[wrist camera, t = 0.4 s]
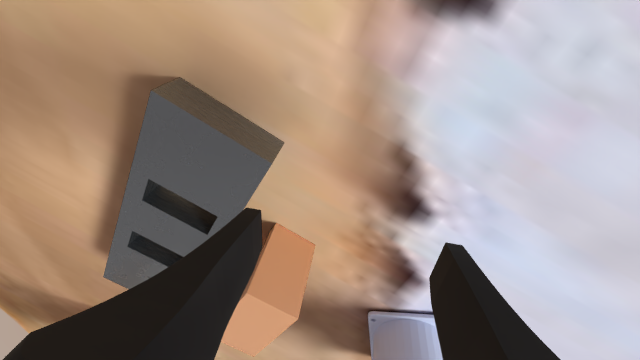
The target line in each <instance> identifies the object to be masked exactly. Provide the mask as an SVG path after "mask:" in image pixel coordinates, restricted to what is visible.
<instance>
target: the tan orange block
mask: <svg viewBox="0 0 640 360" xmlns="http://www.w3.org/2000/svg"><path fill="white" fill-rule="evenodd" d="M314 249H315V245H314V244H313V243H311V242H309V241H307V240H306V239H304V238H302V237H300V236H299V235H297V234H295V233H293V232H291V231H290V230H288V229H286V228H284V227H283V226H281V225H279V224H277V223H276V224H275V225H274V227H273V228H272V229H271V231H270V233H269V235H268V237H267V240H266V242H265V244H264V247H263V249H262V251H261V253H260V256H259V258H258V261H257V264H256V266H255V269H254V271H253V273H252V276H251V278H250V280H249V282H248V284H247V286H246V288H245V290H244V292H243V294H242V296H241V298H240V300H239V302H238V304H237V306H236V308H235V310H234V312H233V314H232V317H231V319H230V321H229V323H228V325H227V327H226V330H225V332H224V335H223V337H222V340H221V342H223V343H225V344H227V345H229V346H231V347H233V348H236V349H238V350H240V351H242V352H244V353H246V354H248V355H251V356H253V357H254V356H255V355H256V354H258V353H259V352H260V351H261V350H262V349H264V348H265V347H266V346H267V345H268V344H269V343H271V342H272V341H273V340H274V339H275V338H277V337H278V336H279V335H280V334H281V333H282V332H284V331H285V330H286V329H287V328H288V327H289V326H291V325H292V324H293V323H294V322H295V321H297V320H298V318H299V313H300V309H301V305H302V300H303V296H304V292H305V288H306V283H307V279H308V275H309V270H310V266H311V262H312V258H313V253H314Z"/></svg>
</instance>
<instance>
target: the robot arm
mask: <svg viewBox="0 0 640 360" xmlns="http://www.w3.org/2000/svg"><path fill="white" fill-rule="evenodd" d="M261 249H262V221H261V210H257V209H251V208H245V209H244V210H243V211H242V212H240V213H239V214H238V215H237V216H236V217H235V218H233V219H232V220H231V221H230V222H229V223H227V224H226V225H225V226H224V227H223V228H221V229H220V230H219V231H218V232H216V233H215V234H214V235H213V236H211V237H210V238H209V239H208V240H206V241H205V242H204V243H202V244H201V245H200V246H198V247H197V248H195V249H194V250H193V251H191V252H190V253H189V254H187V255H186V256H184V257H183V258H181V259H180V260H178V261H177V262H175V263H174V264H172V265H171V266H169V267H168V268H166V269H164V270H163V271H161V272H160V273H158V274H156V275H155V276H153V277H151V278H149V279H147V280H146V281H144V282H142V283H140V284H138V285H136V286H135V287H133V288H131V289H129V290H127V291H125V292H123V293H121V294H119V295H117V296H115V297H113V298H111V299H109V300H107V301H105V302H103V303H101V304H98V305H96V306H94V307H92V308H90V309H87V310H85V311H83V312H80V313H78V314H76V315H73V316H71V317H68V318H66V319H63V320H61V321H58V322H56V323H54V324H51V325H49V326H46V327H44V328H41V329H38V330H36V331H33V332H31V333H30V334H29V335H27V336H26V337H25V338H24V339H23V340H22V341H21V342H20V343H19V344H18V345H17V346H16V347H15V348H14V349H13V350H12V351H11V352H10V353H9V354H8V355H7V356H6V357H5V358H4V359H3V360H214V358H215V356H216V353H217V350H218V348H219V345H220V342H221V340H222V337H223V335H224V332H225V330H226V327H227V325H228V323H229V321H230V319H231V317H232V314H233V312H234V310H235V308H236V306H237V304H238V302H239V300H240V298H241V296H242V294H243V292H244V290H245V288H246V286H247V284H248V282H249V280H250V278H251V276H252V273H253V271H254V269H255V266H256V264H257V261H258V258H259V255H260V252H261ZM430 293H431V304H432V309H433V314H434V315H429V314H412V313H395V312H378V311H370V312H369V313H368V323H369V335H370V346H371V358H372V360H560V359H559V358H558V357H557V356H556V355H555V354H554V353H553V352H552V351H551V350H550V349H549V348H548V347H547V346H546V345H545V344H544V343H543V342H542V341H541V340H540V339H539V338H538V337H537V335H536V334H535V333H534V332H533V331H532V330H531V329H530V328H529V327H528V326H527V325H526V324H525V322H524V321H523V320H522V319H521V318H520V317H519V316H518V315H517V313H516V312H515V311H514V310H513V309H512V308H511V306H510V305H509V304H508V303H507V302H506V301H505V299H504V298H503V297H502V296H501V295H500V293H499V292H498V291H497V290H496V288H495V287H494V286H493V285H492V283H491V282H490V281H489V280H488V278H487V277H486V276H485V274H484V273H483V272H482V270H481V269H480V268H479V267H478V265H477V264H476V263H475V261H474V260H473V259H472V257H471V256H470V255H469V253H468V252H467V251H466V250H465V248H464V247H463V246H462V245H456V244H451V243H445V245H444V247H443V249H442V252H441V254H440V256H439V258H438V260H437V262H436V265H435V267H434V269H433V271H432V273H431V275H430Z"/></svg>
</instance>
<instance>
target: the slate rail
mask: <svg viewBox="0 0 640 360" xmlns="http://www.w3.org/2000/svg"><path fill="white" fill-rule="evenodd" d="M283 144H284V142H283V141H281V140H279V139H278V138H276V137H275V136H273V135H271V134H270V133H268V132H267V131H265V130H263V129H262V128H260V127H259V126H257V125H255V124H254V123H252V122H251V121H249V120H247V119H246V118H244V117H243V116H241V115H239V114H238V113H236V112H235V111H233V110H231V109H230V108H228V107H227V106H225V105H223V104H222V103H220V102H219V101H217V100H215V99H214V98H212V97H211V96H209V95H207V94H206V93H204V92H203V91H201V90H199V89H198V88H196V87H195V86H193V85H191V84H190V83H188V82H187V81H185V80H183V79H182V78H177V79H175V80H173V81H171V82H169V83H166V84H164V85H162V86H160V87H157V88H155V89H153V90H151V92H150V96H149V100H148V104H147V108H146V112H145V116H144V120H143V124H142V128H141V132H140V135H139V139H138V143H137V147H136V151H135V155H134V159H133V163H132V167H131V171H130V174H129V178H128V182H127V186H126V190H125V194H124V198H123V202H122V206H121V210H120V214H119V217H118V221H117V225H116V229H115V233H114V237H113V241H112V245H111V249H110V253H109V257H108V260H107V264H106V268H105V272H104V276H103V277H104V278H106V279H109V280H111V281H113V282H115V283H117V284H119V285H121V286H123V287H126V288H128V289H131V288H133V287H135V286H136V285H138V284H140V283H142V282H144V281H146V280H147V279H149V278H151V277H153V276H155V275H156V274H158V273H160V272H161V271H163V270H164V269H166V268H168V267H169V266H171V265H172V264H174V263H175V262H177V261H178V260H180V259H181V258H183V257H184V256H186V255H187V254H189V253H190V252H191V251H193V250H194V249H195V248H197V247H198V246H200V245H201V244H202V243H204V242H205V241H206V240H208V239H209V238H210V237H211V236H213V235H214V234H215V233H216V232H218V231H219V230H220V229H221V228H223V227H224V226H225V225H226V224H227V223H229V222H230V221H231V220H232V219H233V218H235V217H236V216H237V215H238V214H239V213H240V212H242V211H243V209H244V208H245V206H246V204H247V203H248V201H249V200H250V198H251V196H252V195H253V193H254V192H255V190H256V188H257V187H258V185H259V184H260V182H261V180H262V179H263V177H264V176H265V174H266V172H267V171H268V169H269V168H270V166H271V164H272V163H273V161H274V159H275V158H276V156H277V154H278V153H279V151H280V149H281V148H282V146H283Z"/></svg>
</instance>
